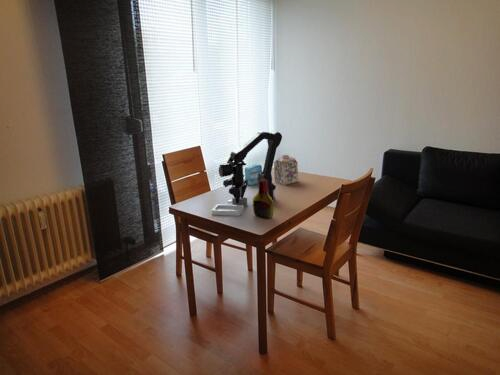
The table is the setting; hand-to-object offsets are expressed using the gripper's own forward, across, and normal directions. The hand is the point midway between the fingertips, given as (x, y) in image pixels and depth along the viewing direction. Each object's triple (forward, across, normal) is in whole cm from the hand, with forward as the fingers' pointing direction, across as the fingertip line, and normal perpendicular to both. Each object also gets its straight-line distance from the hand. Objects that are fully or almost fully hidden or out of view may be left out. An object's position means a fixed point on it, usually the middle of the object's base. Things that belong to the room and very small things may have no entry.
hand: (239, 200), depth 201 cm
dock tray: (+3, +11, -4) cm, 12 cm away
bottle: (+3, +15, +17) cm, 23 cm away
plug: (+3, 0, -1) cm, 3 cm away
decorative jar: (+3, -47, +19) cm, 51 cm away
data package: (+3, -42, -2) cm, 42 cm away
